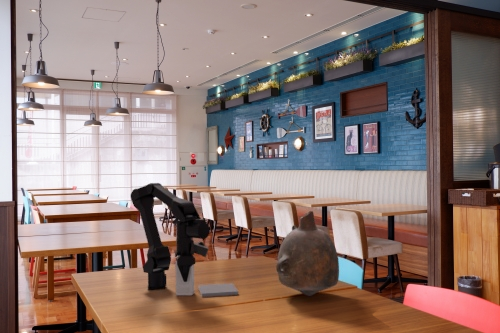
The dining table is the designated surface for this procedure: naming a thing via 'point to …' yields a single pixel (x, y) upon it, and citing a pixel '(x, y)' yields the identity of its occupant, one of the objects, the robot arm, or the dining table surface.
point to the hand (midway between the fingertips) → (184, 280)
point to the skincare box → (182, 286)
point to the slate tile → (218, 290)
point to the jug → (308, 258)
